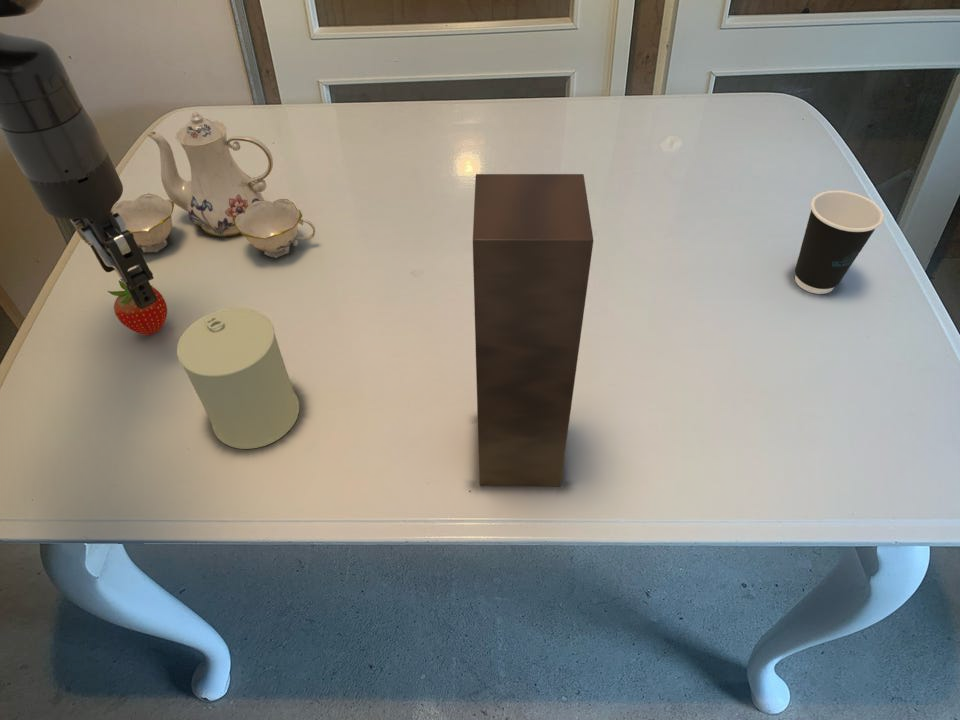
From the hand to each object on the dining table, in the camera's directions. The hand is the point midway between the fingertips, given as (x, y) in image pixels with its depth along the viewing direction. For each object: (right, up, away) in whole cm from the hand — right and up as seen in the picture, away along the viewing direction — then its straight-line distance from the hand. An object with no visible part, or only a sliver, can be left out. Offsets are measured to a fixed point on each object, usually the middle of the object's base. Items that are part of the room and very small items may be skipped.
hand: (130, 285), depth 77 cm
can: (+15, -14, -3) cm, 21 cm away
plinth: (+43, -18, -7) cm, 48 cm away
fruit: (0, -5, +5) cm, 8 cm away
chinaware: (+3, +10, +19) cm, 22 cm away
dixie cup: (+82, +1, +10) cm, 83 cm away
